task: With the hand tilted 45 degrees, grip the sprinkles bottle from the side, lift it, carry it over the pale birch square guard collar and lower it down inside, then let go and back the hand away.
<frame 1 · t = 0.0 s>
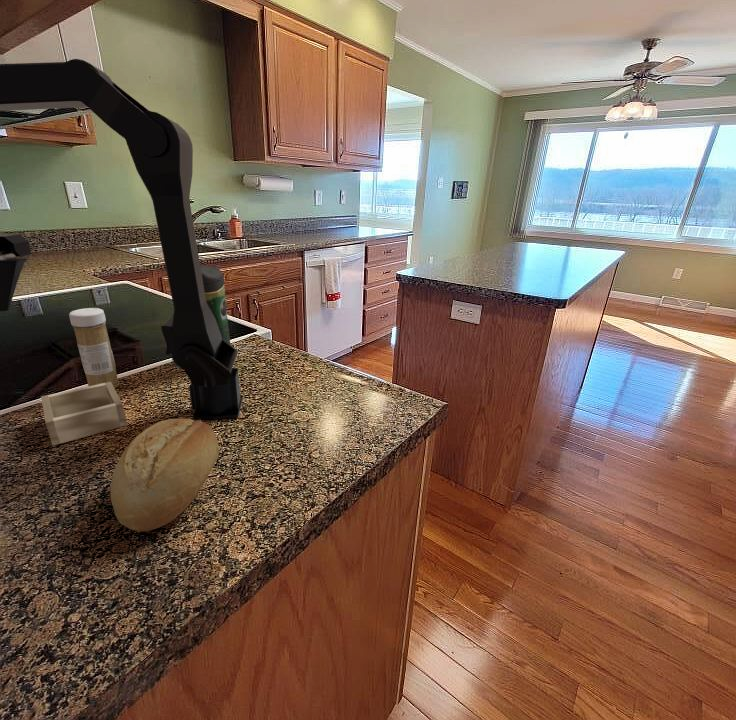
bread roll: (176, 490, 46), on the countertop
guard collar: (87, 421, 57), on the countertop
coffee jar: (209, 361, 80), on the countertop
sprinkles bottle: (104, 388, 67), on the countertop
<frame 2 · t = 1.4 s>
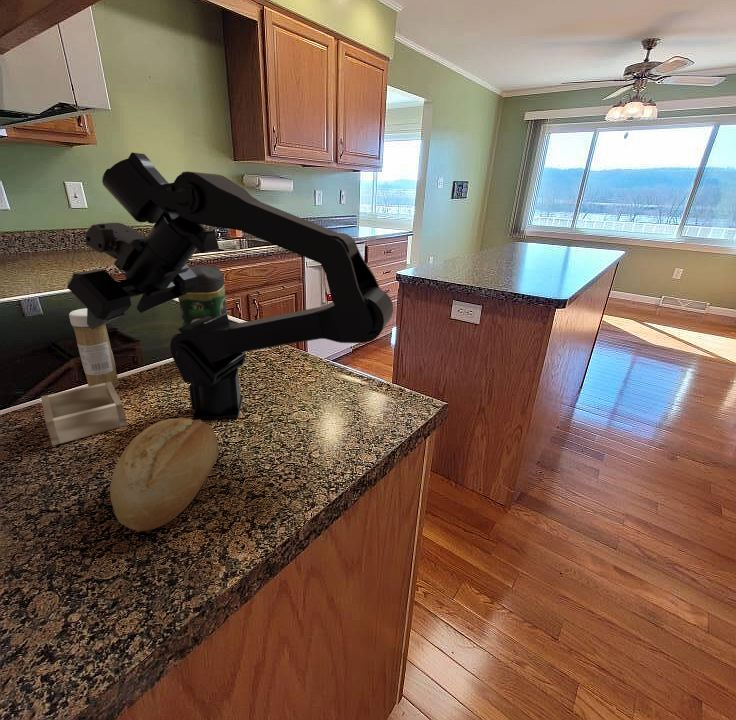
hand: (116, 318, 61), 13 cm above the countertop, tool tilted 45°, fingers open, 9 cm apart
nothing on the countertop moved.
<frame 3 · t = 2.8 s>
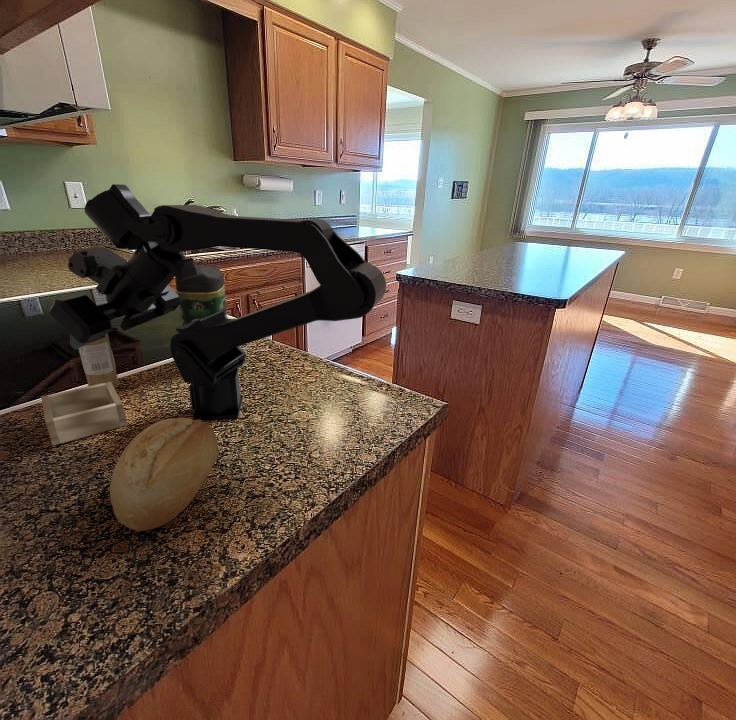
hand: (99, 337, 63), 9 cm above the countertop, tool tilted 45°, fingers open, 9 cm apart
nothing on the countertop moved.
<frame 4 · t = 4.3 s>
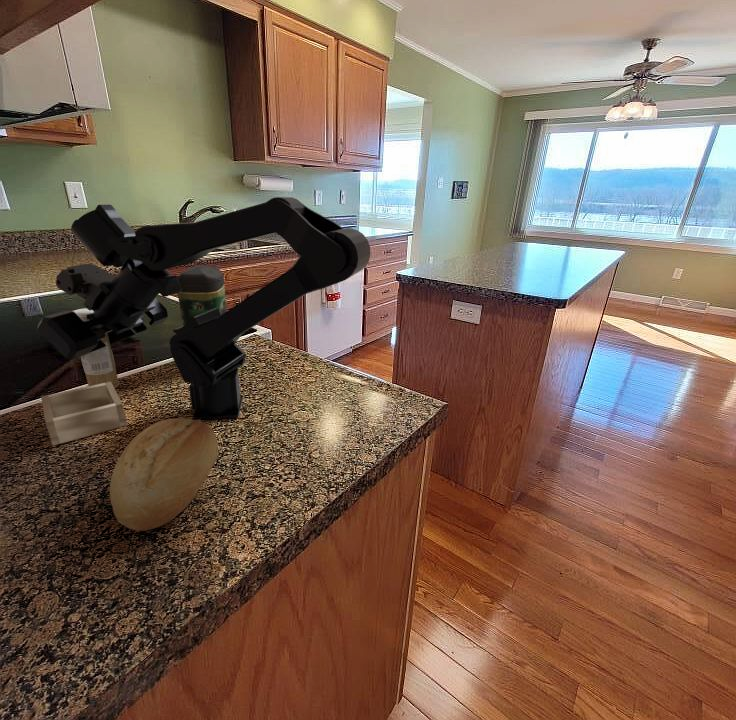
hand: (88, 350, 65), 7 cm above the countertop, tool tilted 45°, fingers closed on sprinkles bottle, 4 cm apart
sprinkles bottle: (104, 388, 67), on the countertop, touching gripper
everything else where it was.
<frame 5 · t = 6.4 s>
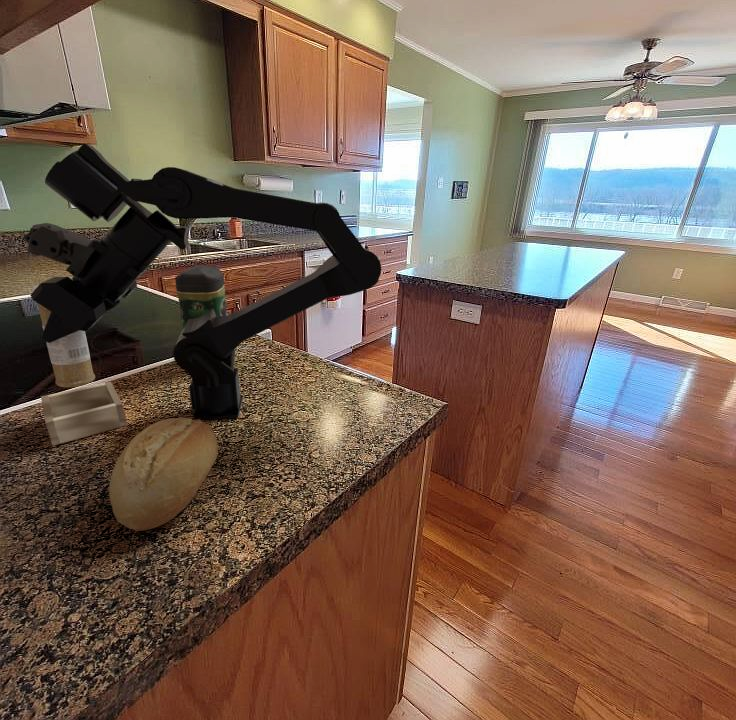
hand: (53, 334, 52), 13 cm above the countertop, tool tilted 45°, fingers closed on sprinkles bottle, 4 cm apart
sprinkles bottle: (76, 383, 55), point 6 cm above the countertop, touching gripper
everything else where it was.
when the fingers open (8 cm above the countertop, at t = 8.1 s): sprinkles bottle stays where it is, resting in guard collar.
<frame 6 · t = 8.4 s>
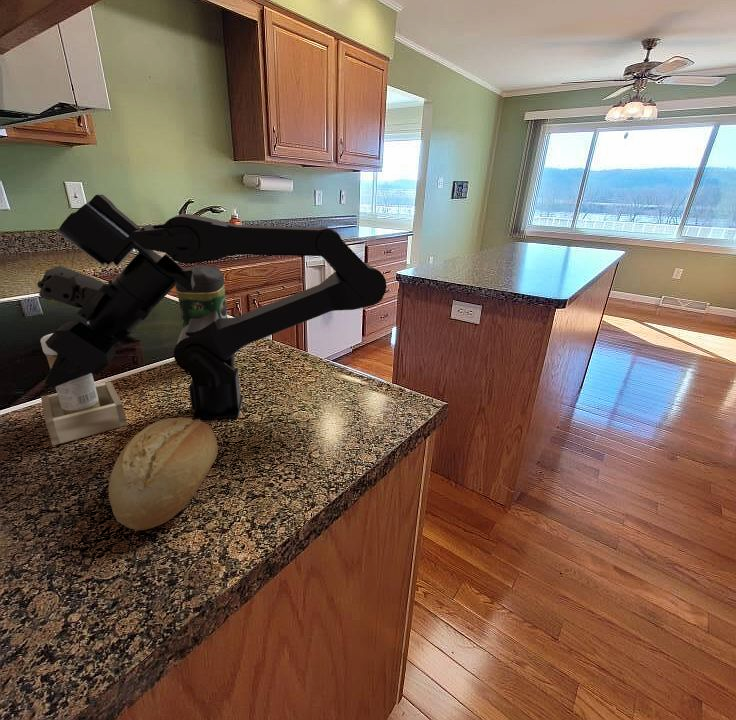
hand: (61, 371, 54), 8 cm above the countertop, tool tilted 45°, fingers open, 8 cm apart
sprinkles bottle: (86, 424, 57), resting in guard collar
everything else where it was.
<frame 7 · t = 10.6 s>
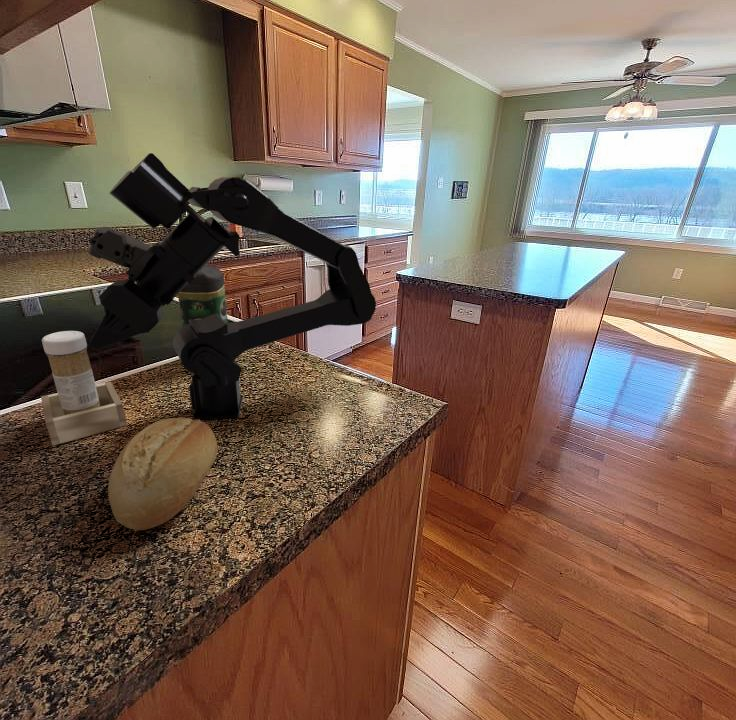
hand: (104, 334, 54), 13 cm above the countertop, tool tilted 45°, fingers open, 9 cm apart
nothing on the countertop moved.
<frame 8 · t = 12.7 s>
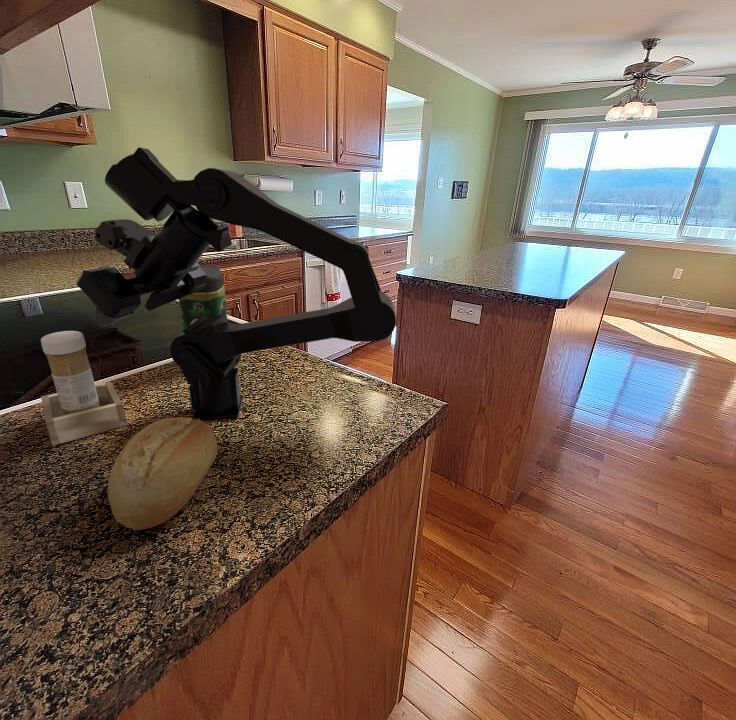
hand: (124, 316, 60), 14 cm above the countertop, tool tilted 45°, fingers open, 9 cm apart
nothing on the countertop moved.
at the end: sprinkles bottle 0.5 cm off-centre on the guard collar, point 0.0 cm above the guard collar's base; sprinkles bottle tilted 0°; the gripper is holding nothing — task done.
